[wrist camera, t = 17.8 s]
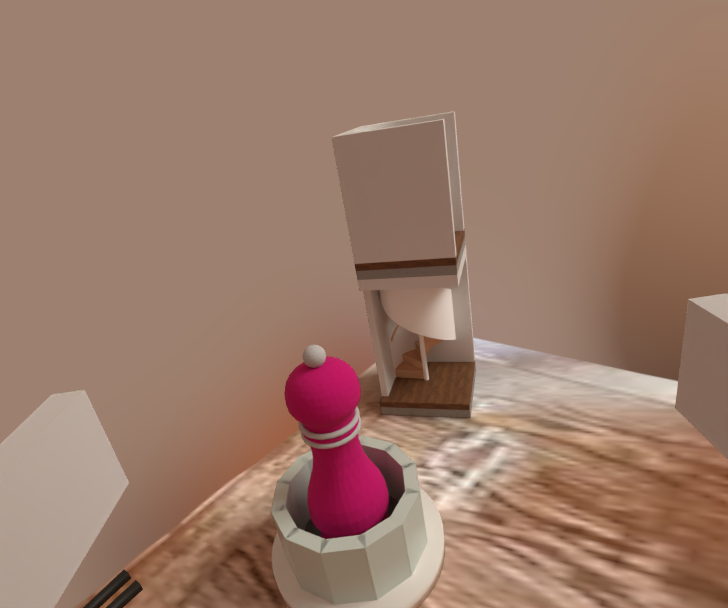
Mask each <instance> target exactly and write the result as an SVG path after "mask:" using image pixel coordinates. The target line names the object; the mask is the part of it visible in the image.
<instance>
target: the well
mask: <svg viewBox="0 0 728 608" xmlns="http://www.w3.org/2000/svg"><path fill="white" fill-rule="evenodd" d="M359 440H360V444H361V447H362V448H363V450H364V452H365V454H366V455H367V457H368V458H369V459H370V460H371V461H372V462H373V463H374V464H375V465H376V466H377V468H378V469H379V470H380V472H381V474H382V475H383V477H384V479H385V482H386V485H387V488H388V493H389V504H388V509H387V516H388V518H387V519H385V520H384V521H382V522H381V523H379V524H377V525H376V526H374V527H373V528H371V529H369V530H368V531H366V532H365V533H363V534H361V535H355V536H347V537H339V538H332V539H324V538H322V536H321V532H320V530H319V529H318V528H317V527H316V526H315V525H314V523H313V522H312V520H311V517H310V514H309V508H308V502H307V494H308V485H309V481H310V477H311V473H312V467H313V456H312V450H311V451H309V452H307V453H305V454H303V455H301V456H299V457H298V458H297V460H296V461H295V462H294V463H293V464H292V465H291V466H290V468H289V469H288V470H287V471H286V472H285V473H284V474H283V475H282V477H281V478H280V479H279V480H278V481H277V485H276V489H275V494H274V499H273V503H272V508H271V514H272V517H273V520H274V523H275V526H276V529H277V533H276V535H275V539H274V543H273V548H272V569H273V574H274V577H275V580H276V583H277V586H278V589H279V591H280V594H281V597H282V598H283V600H284V602H285V604H286V605H287V607H288V608H418V607H419V606H420V605H421V604H422V602H423V601H424V600H425V599H426V598H427V597H428V595H429V594H430V592H431V591H432V589H433V588H434V586H435V584H436V582H437V580H438V578H439V576H440V573H441V570H442V567H443V563H444V557H445V539H444V532H443V524H442V520H441V517H440V514H439V512H438V509H437V507H436V505H435V504H434V502H433V501H432V499H431V498H430V497H429V496H428V495H427V493H426V492H425V491H423V490H422V489H421V488H420V487H419V482H418V476H417V469H416V463H415V462H414V461H413V460H412V459H411V458H410V457H408V456H407V455H406V454H405V453H404V452H403V451H402V450H401V449H400V448H399V447H398V446H397V445H396V444H395V443H391V442H387V441H383V440H379V439H374V438H370V437H366V436H359Z"/></svg>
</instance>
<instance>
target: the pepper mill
mask: <svg viewBox="0 0 728 608" xmlns="http://www.w3.org/2000/svg"><path fill="white" fill-rule="evenodd" d="M303 360H304V362H303V363H302V364H300V365H299V366H298V367H296V368H295V369H294V371H293V372H292V373H291V374H290V375H289V378H288V380H287V382H286V386H285V400H286V405H287V408H288V410H289V413H290V414H291V415H292V416H293V417H294V418H295V419H296V420H297V421H299V429H300V431H301V436H302V439H303V440H304V442H305V443H306V444H308V445H309V446H310V447H311V449H312V456H313V467H312V473H311V477H310V481H309V485H308V494H307V502H308V508H309V514H310V517H311V520H312V522H313V523H314V525H315V526H316V527H317V528H318V529H319V530H320V532H321V536H322V538H324V539H332V538H339V537H347V536H355V535H361V534H363V533H365V532H366V531H368V530H369V529H371V528H373V527H374V526H376V525H377V524H379V523H381V522H382V521H384V520H385V519H387V518H388V516H387V509H388V504H389V493H388V488H387V485H386V482H385V479H384V477H383V475H382V474H381V472H380V470H379V469H378V468H377V466H376V465H375V464H374V463H373V462H372V461H371V460H370V459H369V458H368V457H367V455H366V454H365V452H364V450H363V448H362V447H361V444H360V440H359V436H358V432H359V430H360V428H361V418H360V416H359V409H358V407H357V405H358V403H359V401H360V395H361V388H360V383H359V380H358V377H357V375H356V373H355V371H354V370H353V368H351V366H350V365H348V364H347V363H346V362H344V361H342V360H340V359H338V358H334V357H326V353H325V351H324V349H323V348H322V347H320V346H318V345H311V346H309V347H307V348H306V349H305V351H304V353H303Z"/></svg>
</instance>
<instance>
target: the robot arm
mask: <svg viewBox="0 0 728 608" xmlns="http://www.w3.org/2000/svg"><path fill="white" fill-rule="evenodd" d="M675 408H676V409H677V410H678V411H679V412H680V413H681V414H682V415H683V416H684V417H685V418H686V419H687V420H688V421H689V422H690V423H691V424H692V425H693V426H694V427H695V428H696V429H697V430H698V431H699V432H700V433H701V434H702V435H703V436H704V437H705V438H706V439H707V440H708V441H709V442H710V443H711V444H712V445H713V446H715V447H716V448H717V449H718V450H719V451H720V452H721V453H722V454H723V455H724V456H725V457H726V458H727V459H728V294H719V295H713V296H707V297H699V298H693V299H688V306H687V314H686V322H685V330H684V339H683V347H682V356H681V363H680V372H679V380H678V388H677V396H676V405H675ZM128 484H129V482H128V480H127V478H126V476H125V473H124V471H123V470H122V467H121V465H120V463H119V461H118V459H117V457H116V455H115V453H114V451H113V449H112V447H111V444H110V442H109V440H108V438H107V436H106V434H105V432H104V430H103V428H102V426H101V424H100V422H99V419H98V417H97V415H96V413H95V411H94V409H93V407H92V405H91V403H90V401H89V399H88V397H87V394H86V392H85V390H80V391H73V392H66V393H60V394H53V395H51V396H50V397H49V398H48V399H47V400H46V401H45V402H44V403H43V404H42V405H41V406H39V407H38V408H37V409H36V410H35V411H34V412H33V413H32V414H31V415H30V416H29V417H28V418H27V419H26V420H25V421H24V422H23V423H22V424H21V425H20V426H19V427H18V428H17V429H16V430H15V431H14V432H13V433H11V435H9V436H8V437H7V438H6V439H5V440H4V441H3V442H2V443H1V444H0V608H54V607H55V605H56V604H57V602H58V600H59V599H60V597H61V595H62V594H63V592H64V590H65V589H66V587H67V585H68V584H69V582H70V580H71V579H72V577H73V575H74V574H75V572H76V570H77V569H78V567H79V565H80V564H81V562H82V560H83V559H84V557H85V555H86V554H87V552H88V550H89V549H90V547H91V545H92V544H93V542H94V540H95V539H96V537H97V535H98V534H99V532H100V530H101V529H102V527H103V525H104V524H105V522H106V520H107V519H108V517H109V515H110V514H111V512H112V510H113V509H114V507H115V505H116V504H117V502H118V500H119V499H120V497H121V495H122V494H123V492H124V490H125V488H126V487H127V485H128Z"/></svg>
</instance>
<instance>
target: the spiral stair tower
mask: <svg viewBox="0 0 728 608" xmlns="http://www.w3.org/2000/svg"><path fill="white" fill-rule="evenodd" d="M332 143H333V148H334V154H335V159H336V165H337V170H338V176H339V181H340V187H341V192H342V197H343V203H344V208H345V214H346V219H347V225H348V230H349V236H350V241H351V246H352V252H353V257H354V263H355V269H356V274H357V279H358V285H359V290H360V291H363V294H364V299H365V305H366V310H367V316H368V322H369V327H370V333H371V338H372V343H373V349H374V355H375V360H376V366H377V372H378V377H379V383H380V388H381V394H382V397H381V400H380V405H381V411H382V414H386V415H411V416H435V417H460V418H470V417H471V409H472V400H473V391H474V383H475V374H476V366H475V354H474V341H473V329H472V317H471V306H470V293H469V281H468V269H467V257H466V243H465V231H464V219H463V208H462V194H461V183H460V170H459V158H458V146H457V133H456V121H455V112H448V113H441V114H435V115H429V116H423V117H416V118H410V119H404V120H398V121H392V122H386V123H379V124H373V125H367V126H361V127H358V128H355V129H352V130H350V131H347V132H344V133H341V134H339V135H336V136H333V137H332Z"/></svg>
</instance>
